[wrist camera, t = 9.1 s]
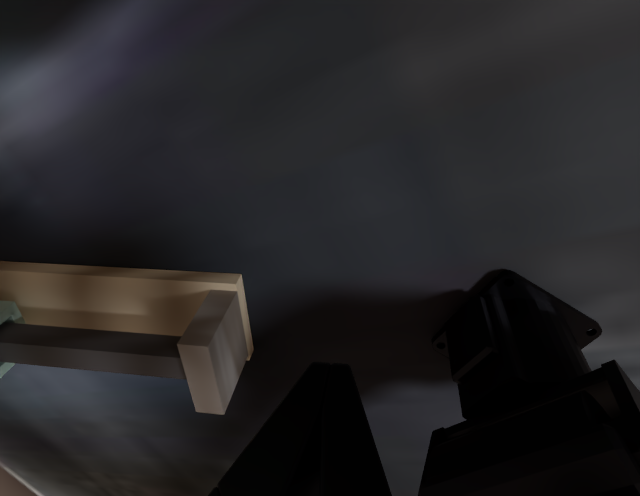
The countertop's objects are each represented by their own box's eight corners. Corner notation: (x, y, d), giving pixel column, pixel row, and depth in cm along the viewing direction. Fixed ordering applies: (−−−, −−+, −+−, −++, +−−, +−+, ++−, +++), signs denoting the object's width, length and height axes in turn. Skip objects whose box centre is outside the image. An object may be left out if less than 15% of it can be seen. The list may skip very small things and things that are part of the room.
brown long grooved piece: (241, 274, 25) (200, 349, 20) (253, 349, 28) (221, 431, 23) (-51, 258, 28) (-153, 320, 23) (-11, 327, 31) (-93, 396, 26)
